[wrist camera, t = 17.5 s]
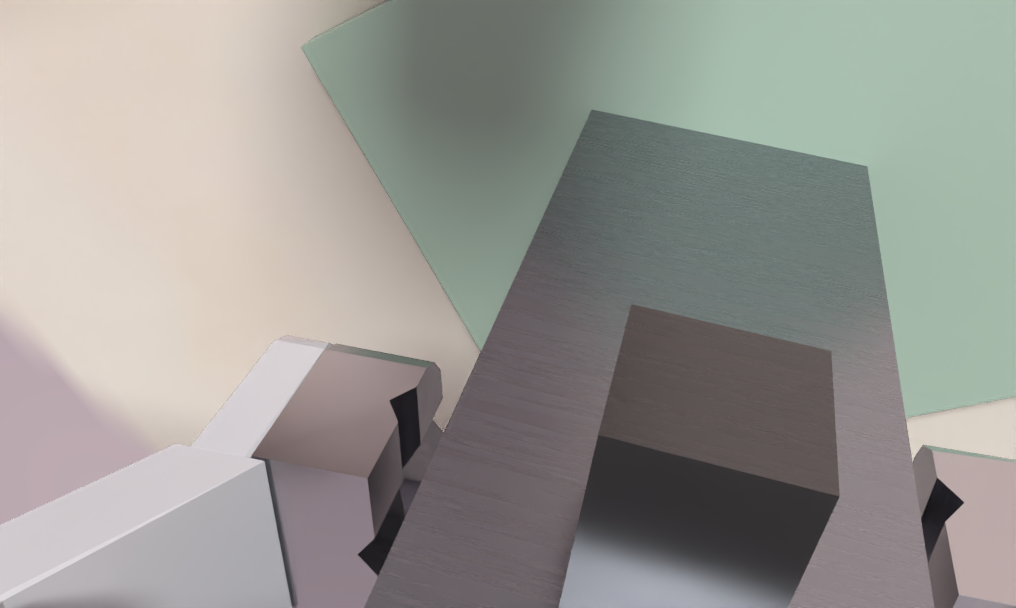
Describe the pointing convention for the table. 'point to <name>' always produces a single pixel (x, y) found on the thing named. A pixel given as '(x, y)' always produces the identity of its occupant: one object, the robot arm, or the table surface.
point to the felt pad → (715, 110)
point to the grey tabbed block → (679, 398)
